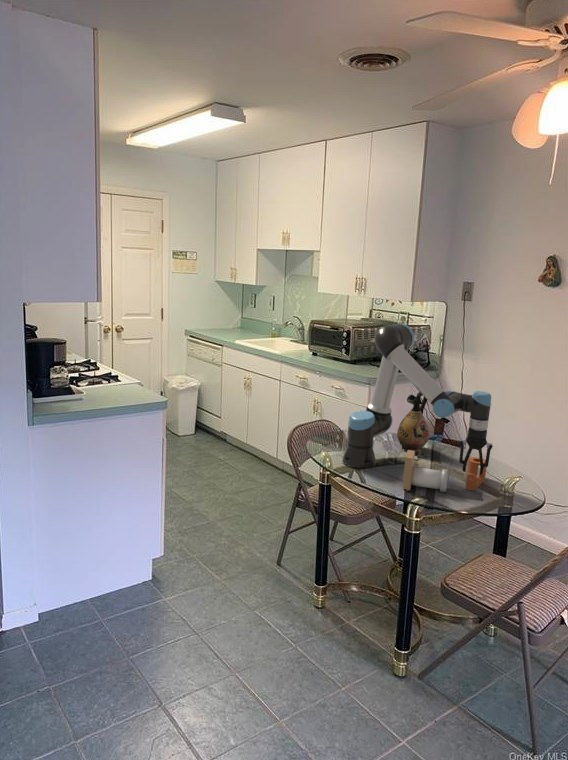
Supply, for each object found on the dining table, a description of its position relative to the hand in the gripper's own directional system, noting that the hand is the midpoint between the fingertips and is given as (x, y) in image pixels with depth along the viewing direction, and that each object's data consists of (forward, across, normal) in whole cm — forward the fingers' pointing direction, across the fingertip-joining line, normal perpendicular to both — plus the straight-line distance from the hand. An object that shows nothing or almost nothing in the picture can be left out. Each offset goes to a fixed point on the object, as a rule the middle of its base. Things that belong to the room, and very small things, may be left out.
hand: (471, 479), depth 248 cm
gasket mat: (+1, -3, -15) cm, 15 cm away
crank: (-3, -2, 0) cm, 4 cm away
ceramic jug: (+2, -28, +34) cm, 44 cm away
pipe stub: (+1, -19, -15) cm, 24 cm away
